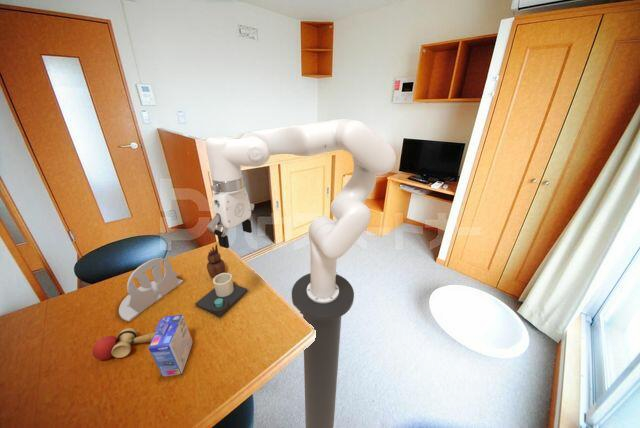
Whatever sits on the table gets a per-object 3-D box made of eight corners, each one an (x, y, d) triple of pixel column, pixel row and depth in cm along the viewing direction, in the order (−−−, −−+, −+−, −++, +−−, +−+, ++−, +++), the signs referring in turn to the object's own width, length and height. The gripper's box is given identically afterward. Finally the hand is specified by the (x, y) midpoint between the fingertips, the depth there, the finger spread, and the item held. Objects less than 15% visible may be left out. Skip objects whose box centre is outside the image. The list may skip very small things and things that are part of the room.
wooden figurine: (225, 269, 105) (220, 240, 99) (226, 277, 101) (221, 247, 94) (209, 273, 103) (202, 244, 97) (209, 281, 98) (202, 251, 92)
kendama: (170, 328, 79) (100, 342, 72) (168, 316, 76) (94, 330, 68) (168, 351, 73) (91, 369, 66) (165, 339, 70) (84, 357, 62)
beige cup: (224, 282, 96) (222, 270, 93) (237, 287, 93) (235, 275, 91) (211, 293, 90) (209, 281, 88) (224, 299, 88) (222, 286, 85)
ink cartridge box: (174, 344, 73) (161, 309, 67) (193, 341, 74) (182, 307, 67) (160, 377, 64) (144, 341, 58) (182, 374, 65) (168, 338, 59)
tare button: (219, 300, 85) (218, 297, 85) (225, 303, 84) (224, 299, 84) (213, 306, 83) (212, 302, 82) (219, 308, 82) (218, 305, 81)
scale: (224, 282, 98) (223, 276, 97) (248, 291, 93) (247, 286, 92) (195, 306, 86) (193, 300, 85) (220, 319, 81) (219, 312, 80)
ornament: (129, 322, 80) (111, 283, 73) (104, 310, 84) (85, 272, 77) (184, 281, 98) (174, 246, 91) (161, 273, 103) (150, 240, 96)
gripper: (213, 196, 56) (224, 257, 63) (259, 178, 70) (264, 229, 77) (190, 191, 58) (204, 250, 66) (239, 175, 73) (246, 224, 80)
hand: (236, 238), depth 71 cm, fingers open, 9 cm apart
